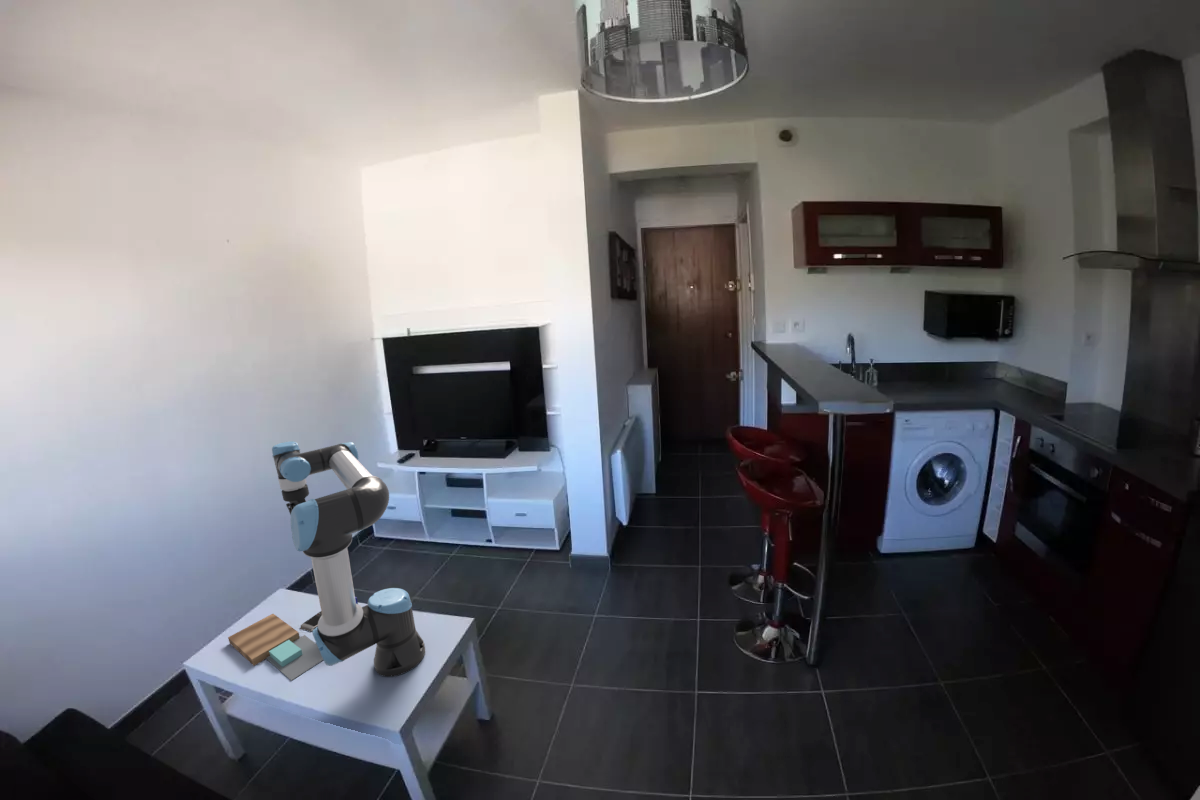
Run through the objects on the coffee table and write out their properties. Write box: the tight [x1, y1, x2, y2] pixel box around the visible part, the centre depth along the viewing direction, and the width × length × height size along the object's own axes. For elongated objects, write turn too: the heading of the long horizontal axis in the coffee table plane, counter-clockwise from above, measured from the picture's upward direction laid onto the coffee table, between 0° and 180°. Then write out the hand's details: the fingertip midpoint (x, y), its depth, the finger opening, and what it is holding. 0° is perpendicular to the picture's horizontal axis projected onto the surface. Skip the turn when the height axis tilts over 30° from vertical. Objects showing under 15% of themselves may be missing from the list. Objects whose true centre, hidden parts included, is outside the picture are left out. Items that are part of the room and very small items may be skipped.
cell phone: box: [300, 610, 322, 632], centre depth 171 cm, size 6×11×1 cm, turn 157°
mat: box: [265, 634, 324, 682], centre depth 153 cm, size 18×12×1 cm, turn 56°
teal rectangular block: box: [269, 640, 303, 667], centre depth 154 cm, size 9×6×2 cm, turn 56°
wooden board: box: [227, 613, 300, 667], centre depth 162 cm, size 20×14×2 cm
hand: (308, 549), depth 164 cm, fingers closed
